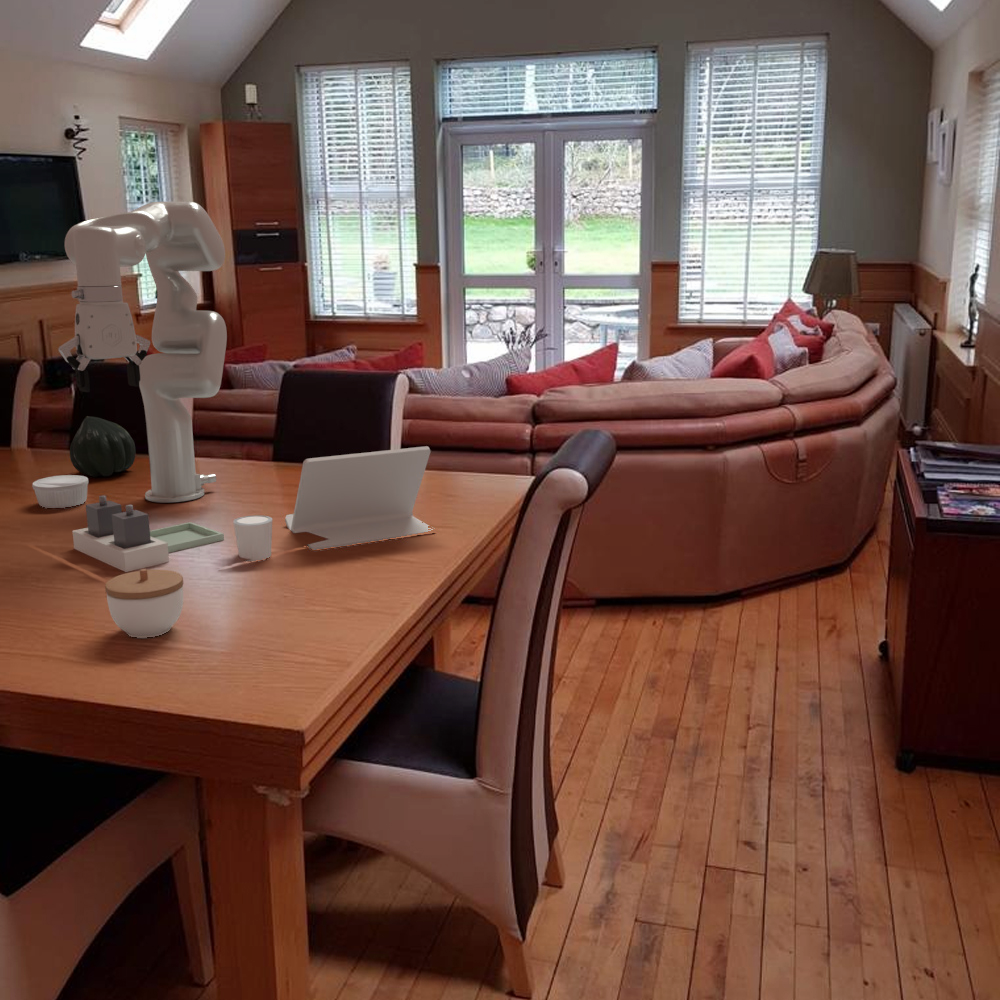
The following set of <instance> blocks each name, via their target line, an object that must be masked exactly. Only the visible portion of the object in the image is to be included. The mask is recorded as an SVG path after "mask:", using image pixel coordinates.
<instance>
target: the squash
mask: <svg viewBox="0 0 1000 1000" xmlns="http://www.w3.org/2000/svg"><path fill="white" fill-rule="evenodd" d="M69 458H70V462H71V465H72V466H73V467H74V469H76V470H77V472H79V473H80V474H82V475H86V476H90V477H93V478H98V477H97V476H99V477H101V476H102V477H105V478H107V477H110V476H112V475H113V473H122V472H125V471H127V470H128V469H130V468H131V467H132V466H133V464H134V462H135V460H136V445H135V441H134V439H133V438H132V437H131V435H130V433H129V431H127V430H126V429H125V428H124V427H122V426H121V425H119V424H118V423H115V422H113V421H111V420H106V419H103V418H101V417H97V416H90V415H89V416H88V415H87V416H85V418H83V420H82V422H81V424H80V426H79V428H78V429H77V431H76V433H75V435H74V437H73V439H72V441H71V443H70V446H69ZM106 476H107V477H106Z"/></svg>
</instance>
